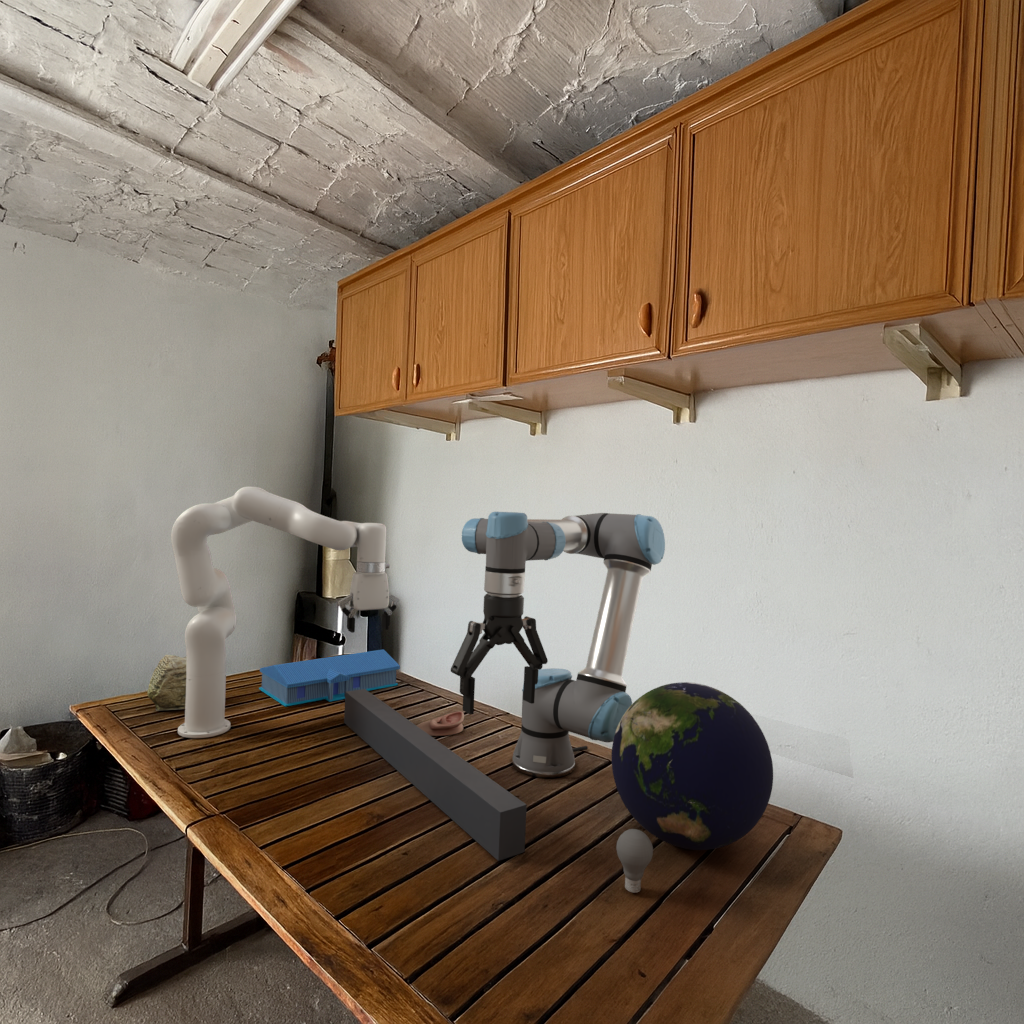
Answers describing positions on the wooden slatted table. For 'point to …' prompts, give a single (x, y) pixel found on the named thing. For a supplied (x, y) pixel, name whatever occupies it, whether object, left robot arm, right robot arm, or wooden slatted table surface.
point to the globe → (692, 766)
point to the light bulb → (634, 857)
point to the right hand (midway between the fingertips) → (499, 706)
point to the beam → (441, 775)
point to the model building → (328, 677)
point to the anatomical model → (444, 724)
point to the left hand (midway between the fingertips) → (368, 630)
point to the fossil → (169, 683)
